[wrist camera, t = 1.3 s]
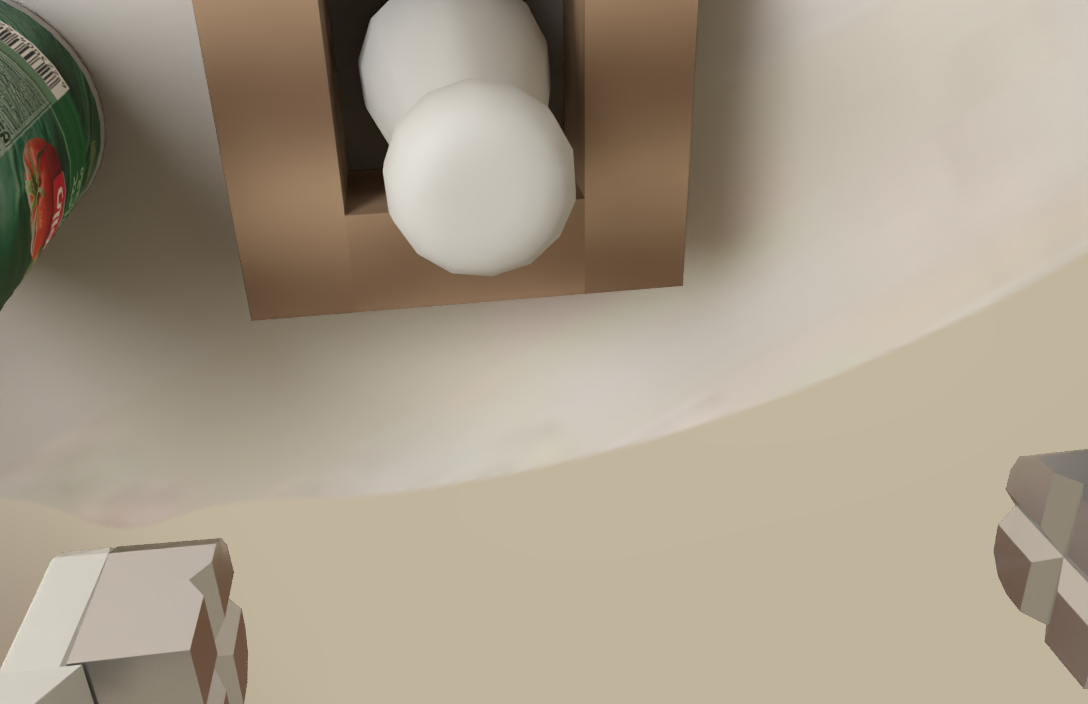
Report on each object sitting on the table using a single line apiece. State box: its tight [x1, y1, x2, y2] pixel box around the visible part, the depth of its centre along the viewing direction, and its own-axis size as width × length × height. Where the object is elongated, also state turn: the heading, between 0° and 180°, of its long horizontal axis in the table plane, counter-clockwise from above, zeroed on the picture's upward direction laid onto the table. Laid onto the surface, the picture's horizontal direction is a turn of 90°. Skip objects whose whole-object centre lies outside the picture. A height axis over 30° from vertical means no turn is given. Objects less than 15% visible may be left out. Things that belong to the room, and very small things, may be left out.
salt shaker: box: [358, 0, 576, 276], centre depth 27 cm, size 6×6×13 cm
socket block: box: [192, 0, 698, 321], centre depth 31 cm, size 14×14×4 cm
